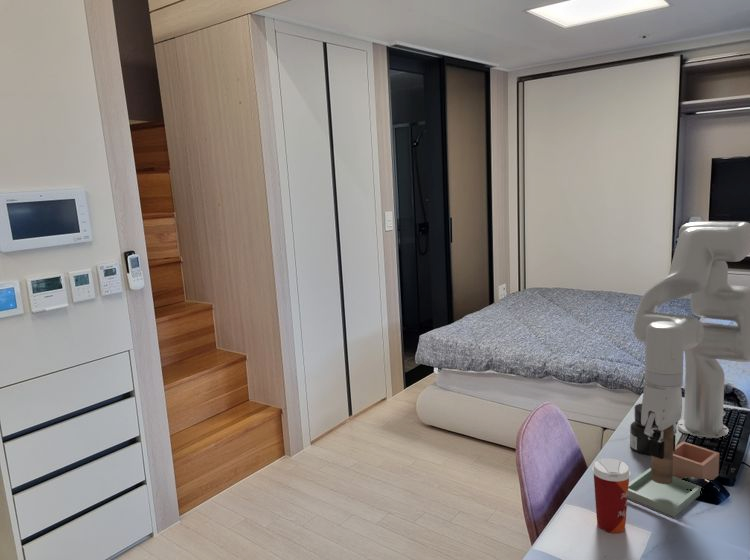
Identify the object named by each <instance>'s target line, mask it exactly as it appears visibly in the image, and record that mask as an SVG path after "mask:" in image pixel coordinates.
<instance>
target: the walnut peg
mask: <svg viewBox="0 0 750 560" xmlns="http://www.w3.org/2000/svg"><path fill="white" fill-rule="evenodd" d="M655 426H656V427H658V426H657V425H655ZM654 432H655V433H657V434H658V435H659V431H656V430H654ZM674 435H675V434H674V427H673V426H670V427H668V428H667V429H665V430H664V434H663V441H662V442H664V458H663V459H660V458H657V457H654V456H650V457H651V458H650V459H651V461H650V462H651V464H650V468H651V479H652V480H653V481H654V482H656V483H660V484H670V483H672V473H673V437H674Z"/></svg>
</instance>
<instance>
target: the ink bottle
mask: <svg viewBox="0 0 750 560" xmlns="http://www.w3.org/2000/svg"><path fill="white" fill-rule="evenodd" d="M641 412H642V403H638V404H636V405H635V406H634V421H633V422H632V423H631V424H630V427H629V428H630V429H629V432H630V434H629V447H630V449H631V450H632V451H633V452H634V453H637V454H641V455H643V456H648V457H651V455H649V439H648V436H647V435H646V434H645V433H644V430H645V427H646V426H642V424H641Z"/></svg>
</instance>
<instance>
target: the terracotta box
mask: <svg viewBox="0 0 750 560" xmlns="http://www.w3.org/2000/svg"><path fill="white" fill-rule="evenodd" d="M719 472H720V452H718V451H714V450H713V449H712V450H711V449H708V448H705V447H703V446H698V445H696V444H692V443H689V442H686V441H681V442H680V443H678V444H676V445H675V451H673V473H672V476H674V477H677V478H680V479H683V478H685V477H694V478H701V479H709V480H713V481H714V480H715V479H716V478H718V476H719V475H720V474H719Z"/></svg>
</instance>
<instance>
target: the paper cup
mask: <svg viewBox="0 0 750 560" xmlns="http://www.w3.org/2000/svg"><path fill="white" fill-rule="evenodd" d="M591 472H592V473H593V483H594V485H593V486H594V498H595V499H594V500H595V510H596V511H595V512H596V523H597V526H598V528H599V529H600V530H601V531H603V532H606V533H608V534H620V533H623V532H624V531H625V530H626V523H627V512H628V511H627V509H628V499H629V498H628V486H629V481H630V478H631V475H632V473H631V470H630V468H629V466H628V465H627V464H626V463H625V462H624V461H621V460H619V459H615V458H614V459H613V458H601V459H598V460H596V461H595V462H594V463H593V466H592V468H591Z"/></svg>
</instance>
